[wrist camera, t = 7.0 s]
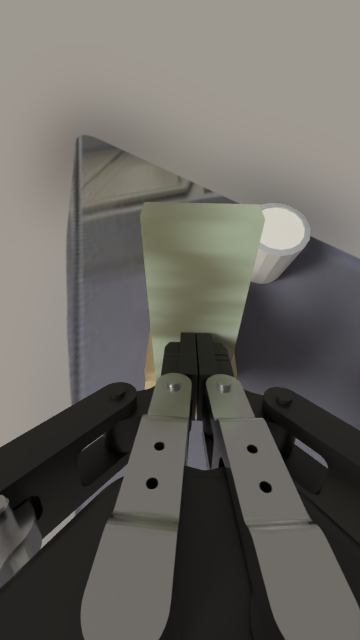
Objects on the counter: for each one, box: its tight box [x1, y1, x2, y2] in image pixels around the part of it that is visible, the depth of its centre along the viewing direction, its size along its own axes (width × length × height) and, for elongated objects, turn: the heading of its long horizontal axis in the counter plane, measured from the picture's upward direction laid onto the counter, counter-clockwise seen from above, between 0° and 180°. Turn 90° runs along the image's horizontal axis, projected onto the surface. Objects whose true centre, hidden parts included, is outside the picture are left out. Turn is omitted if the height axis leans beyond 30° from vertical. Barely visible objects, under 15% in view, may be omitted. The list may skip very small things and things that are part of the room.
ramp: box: [140, 202, 265, 419], centre depth 18 cm, size 6×14×13 cm, turn 178°
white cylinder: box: [251, 203, 311, 284], centre depth 32 cm, size 7×7×7 cm
